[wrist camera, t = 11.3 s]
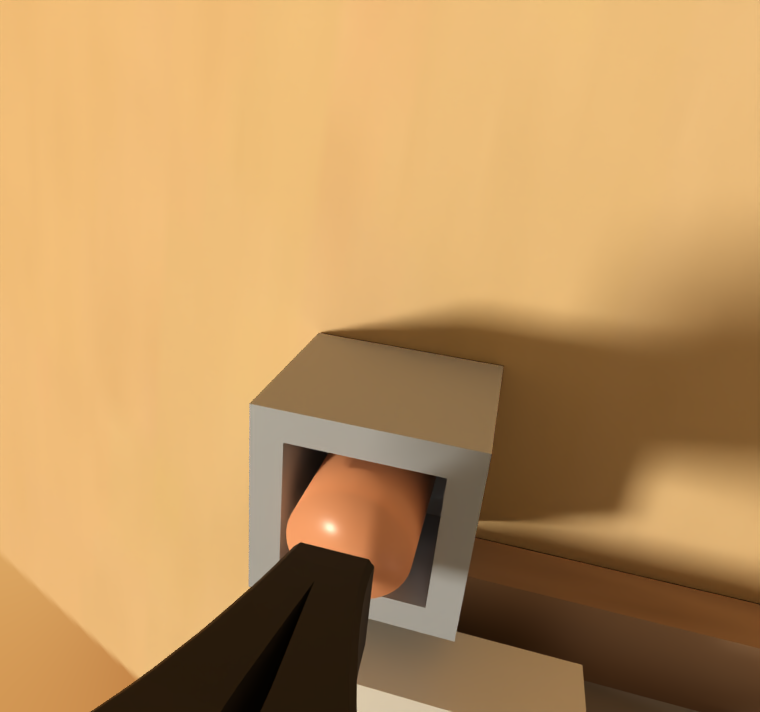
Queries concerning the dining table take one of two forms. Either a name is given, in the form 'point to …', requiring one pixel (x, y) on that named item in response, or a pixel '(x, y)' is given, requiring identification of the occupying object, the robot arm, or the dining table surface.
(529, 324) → the dining table surface
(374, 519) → the orange cylindrical peg
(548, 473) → the dining table surface
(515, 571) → the rail board
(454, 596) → the box
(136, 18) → the dining table surface
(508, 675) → the carriage
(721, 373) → the dining table surface
